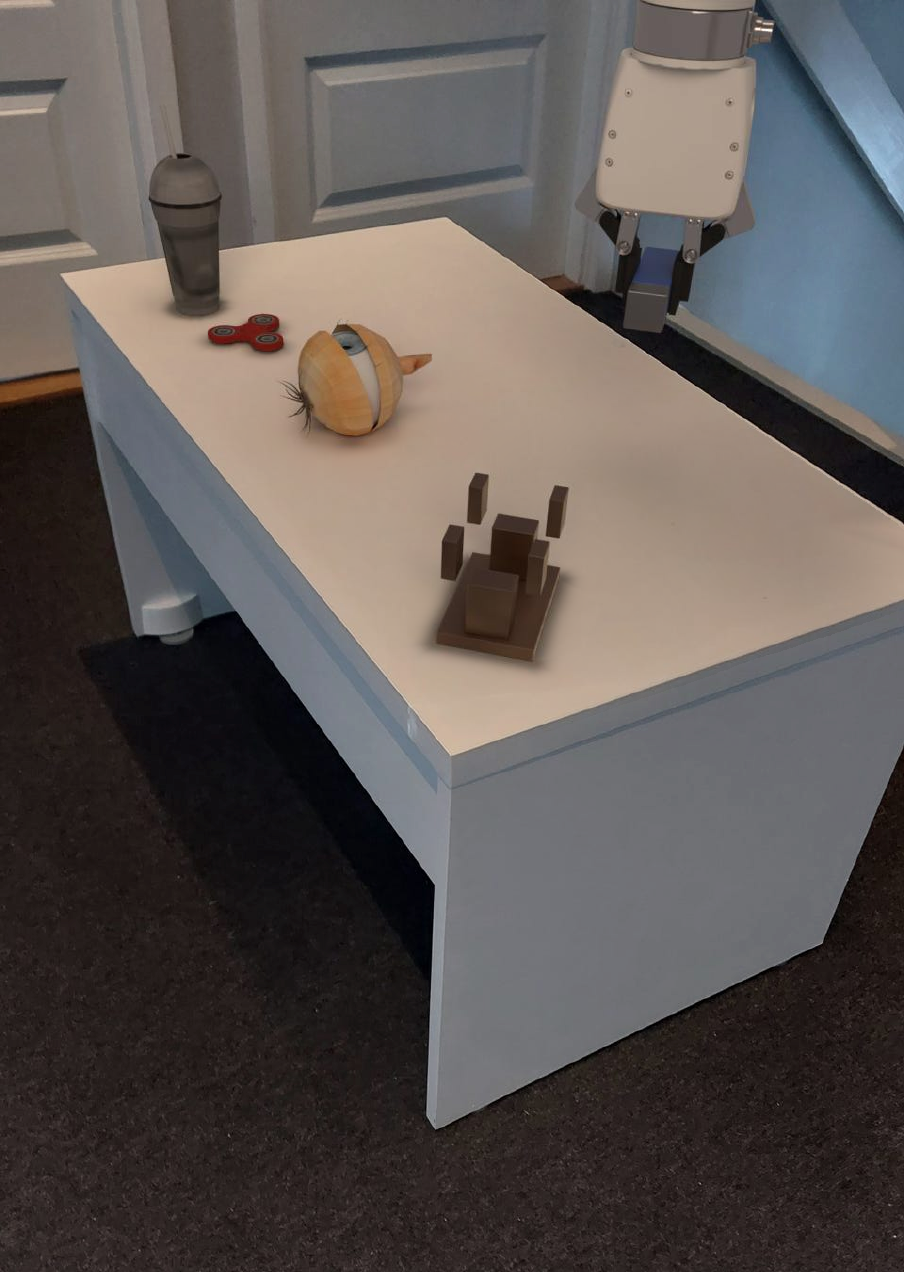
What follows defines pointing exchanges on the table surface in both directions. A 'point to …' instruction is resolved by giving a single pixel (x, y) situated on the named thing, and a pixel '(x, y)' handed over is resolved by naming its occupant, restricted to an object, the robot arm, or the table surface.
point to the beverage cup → (188, 227)
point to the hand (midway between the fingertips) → (650, 303)
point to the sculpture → (351, 379)
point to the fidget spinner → (250, 333)
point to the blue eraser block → (650, 290)
